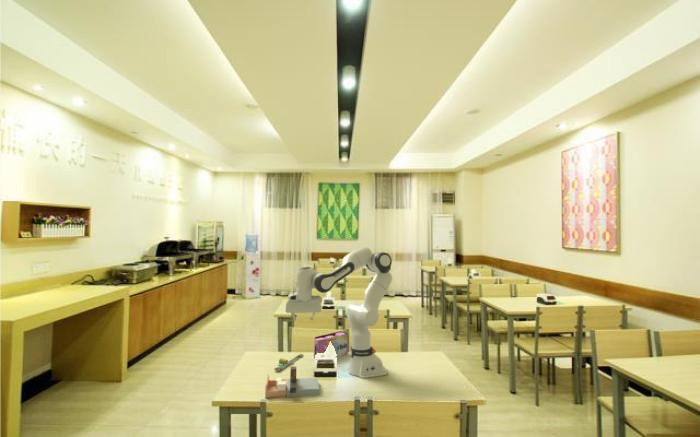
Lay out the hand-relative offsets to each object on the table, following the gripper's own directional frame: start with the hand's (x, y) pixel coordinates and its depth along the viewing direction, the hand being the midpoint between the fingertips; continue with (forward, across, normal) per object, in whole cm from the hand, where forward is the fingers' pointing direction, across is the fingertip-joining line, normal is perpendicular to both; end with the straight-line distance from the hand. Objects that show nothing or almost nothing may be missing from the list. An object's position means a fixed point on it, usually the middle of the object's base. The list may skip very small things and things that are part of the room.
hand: (303, 320), depth 194 cm
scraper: (+28, +5, +17) cm, 33 cm away
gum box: (+31, -20, -29) cm, 47 cm away
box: (+31, +13, +17) cm, 38 cm away
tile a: (+29, +11, +13) cm, 33 cm away
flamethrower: (+32, +8, -20) cm, 38 cm away
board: (+31, 0, +17) cm, 35 cm away
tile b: (+28, +10, +21) cm, 37 cm away
